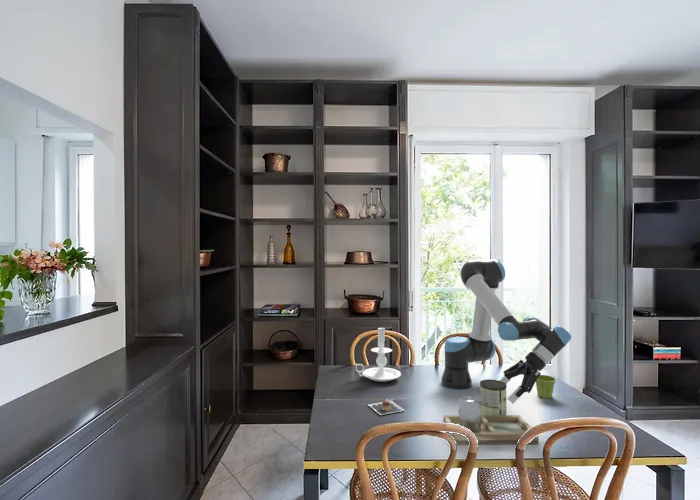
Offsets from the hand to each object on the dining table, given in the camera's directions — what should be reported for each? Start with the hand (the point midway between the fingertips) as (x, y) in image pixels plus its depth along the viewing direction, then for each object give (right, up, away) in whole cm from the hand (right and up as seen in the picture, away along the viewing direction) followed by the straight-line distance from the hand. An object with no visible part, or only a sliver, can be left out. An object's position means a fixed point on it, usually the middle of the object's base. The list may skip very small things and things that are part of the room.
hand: (502, 395), depth 159 cm
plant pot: (+29, -10, +24) cm, 39 cm away
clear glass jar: (-17, -8, -13) cm, 23 cm away
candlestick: (-48, -10, +49) cm, 69 cm away
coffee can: (-3, -10, +1) cm, 11 cm away
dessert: (-47, -11, +10) cm, 49 cm away
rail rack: (-10, -10, -13) cm, 19 cm away
